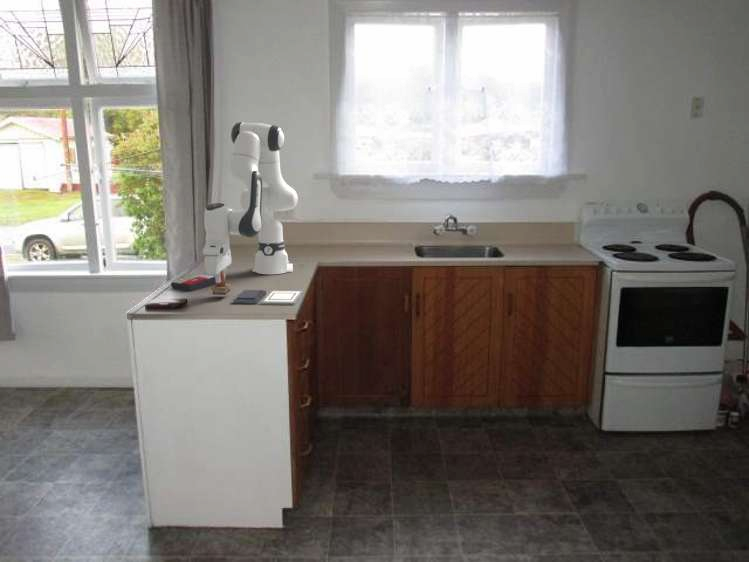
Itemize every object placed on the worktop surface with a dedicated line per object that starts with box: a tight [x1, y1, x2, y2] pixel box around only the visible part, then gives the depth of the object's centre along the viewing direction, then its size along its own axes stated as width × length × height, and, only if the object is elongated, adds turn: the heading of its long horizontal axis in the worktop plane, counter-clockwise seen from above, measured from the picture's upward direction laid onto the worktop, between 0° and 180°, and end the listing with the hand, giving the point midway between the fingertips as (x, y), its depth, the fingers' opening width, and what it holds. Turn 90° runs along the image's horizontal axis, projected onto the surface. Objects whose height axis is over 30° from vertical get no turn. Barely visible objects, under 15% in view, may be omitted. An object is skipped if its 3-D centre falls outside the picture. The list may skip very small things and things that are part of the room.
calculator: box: [171, 273, 216, 293], centre depth 259 cm, size 11×4×15 cm
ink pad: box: [232, 289, 267, 305], centre depth 239 cm, size 14×9×2 cm, turn 176°
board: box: [259, 290, 304, 306], centre depth 239 cm, size 18×13×1 cm
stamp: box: [211, 270, 231, 296], centre depth 240 cm, size 6×5×9 cm
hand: (220, 281), depth 240 cm, fingers closed on stamp, 3 cm apart
